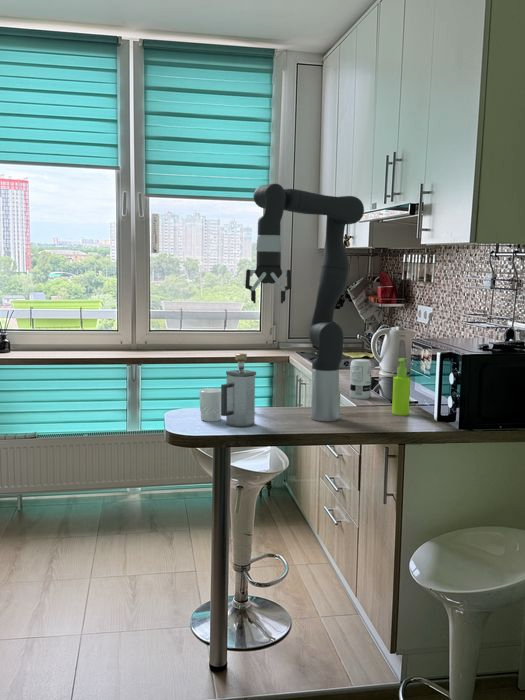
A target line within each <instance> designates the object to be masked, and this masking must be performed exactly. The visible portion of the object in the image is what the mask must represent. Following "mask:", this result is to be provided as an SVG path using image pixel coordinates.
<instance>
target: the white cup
mask: <svg viewBox="0 0 525 700" xmlns="http://www.w3.org/2000/svg"><path fill="white" fill-rule="evenodd" d="M198 392H199V393H198V394H199V411H200V420H201V421H203V420H204V421H203V422H210V421H211V422H218V420H219V421H221V420H222V416H221V388H215V387H214V388H212V387H211V388H210V387H206V388H201V389H199V391H198ZM220 419H221V420H220Z"/></svg>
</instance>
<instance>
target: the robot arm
mask: <svg viewBox="0 0 525 700" xmlns="http://www.w3.org/2000/svg"><path fill="white" fill-rule="evenodd" d="M252 196H253V202H254V203H255V204H256V205H257V206H258V207H259V208H261V209H264V213H263V215H262V216H260V217H259V218H258V220H257V239H256V248H255V249H256V264H255V265H256V267H255V269H249V268H248V269H246V271H245V285H244V286H245V289H247V290H250V292H251V293H250V300H251V302H252V303H253V304H256V301H257V297H256V295H257V294H256V293H257V290H256V289H257V287H258V286H259V285H260V284H275V283H276V284H277V286H278V287H279V289H280V290H281V291H280V304H284V302H286V292H287V291H288V290H291V289H292V278H291V277H292V271H291V270H290V269H287V270H282V266H281V265H282V263H281V261H282V241H281V230H282V229H281V221H282V218H283V215H284V211H287V212H291V213H297V214H303V215H319V216H326V224H325V237H324V239H325V240H324V246H323V255H322V261H321V266H320V273H319V280H318V281H319V283H318V288H317V293H316V294H317V295H316V301H315V306H314V311H313V313H312V314H313V315H312V318H311V322H310V327H309V331H308V332H309V333H308V335H309V341H310V342H311V344H312V345H313V346H314V347H316V348H318V352H317V356H316V358H315V359H313V360H312V364H311V368H312V369H311V397H310V398H311V402H310V403H311V407H310V408H311V409H310V419H311V420H313V421H317V422H318V421H319V422H334V421H337V420H339V419H340V418H341V417H340V416H341V390H340V366H341V363H342V360H343V353H344V332H343V329H342V327H341V325H339V324H338V323H336V322H333V321H334V313H335V309H336V306H337V304H338V302H339V300H340V298H341V296H342V295H343V293H344V290H345V288H346V286H347V283H348V277H349V276H348V275H349V269H350V261H349V257H348V254H347V251H346V248H345V242H344V235H345V227H346V225H352V224H356V223H359V222H360V221H361V220H362V218H363V217H364V213H365V206H364V203H363V201H362V200H361V199H360V198H358V197H357V196H355V195H354V196H353V195H342V196H332V195H325V194H321V193H320V194H319V193H315V192H310V191H305V190H301V189H296V188H284V187H283V186H282V185H281V184H280V183H269V184H263V185H260V186H258V187H257V188H256V189H255V190H254V193H253V195H252ZM254 274H255V276H256V277H257V278H258V279H257V280H256V281H255V282H254V284H252V285H250V281H251V277H252V276H253V275H254ZM282 274H283V275H284V277H285V278H286V286H284V284H282V281H281V280H280V279H279V278H280V277H281V276H282Z"/></svg>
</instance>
